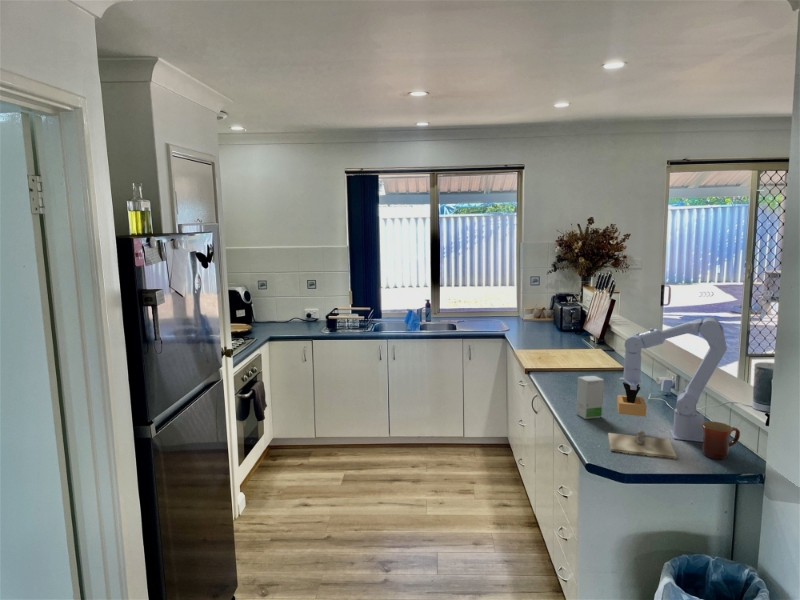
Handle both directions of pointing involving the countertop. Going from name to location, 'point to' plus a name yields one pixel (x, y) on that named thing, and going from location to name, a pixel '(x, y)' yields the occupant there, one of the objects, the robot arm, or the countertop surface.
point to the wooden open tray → (631, 406)
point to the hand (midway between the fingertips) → (630, 402)
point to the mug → (718, 439)
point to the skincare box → (590, 397)
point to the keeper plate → (641, 445)
